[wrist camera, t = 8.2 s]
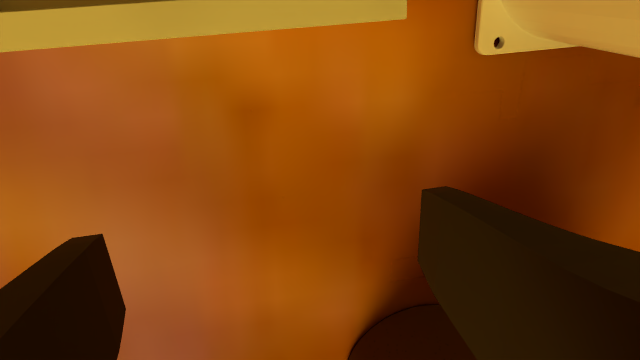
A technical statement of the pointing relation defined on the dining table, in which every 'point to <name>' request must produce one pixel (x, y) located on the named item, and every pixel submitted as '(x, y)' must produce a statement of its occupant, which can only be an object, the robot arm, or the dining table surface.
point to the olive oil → (413, 337)
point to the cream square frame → (171, 19)
